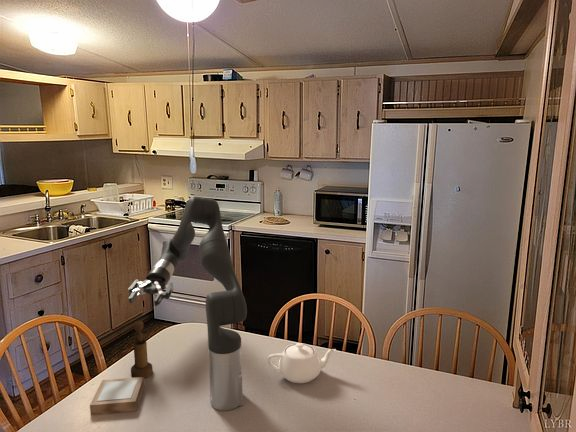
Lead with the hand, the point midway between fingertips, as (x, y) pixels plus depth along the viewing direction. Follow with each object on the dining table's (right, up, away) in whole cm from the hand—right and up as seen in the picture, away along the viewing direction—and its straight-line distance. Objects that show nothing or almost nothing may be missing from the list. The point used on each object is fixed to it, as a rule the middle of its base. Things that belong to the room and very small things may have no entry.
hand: (142, 302), depth 139 cm
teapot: (+53, -23, -5) cm, 58 cm away
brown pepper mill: (+1, -22, -4) cm, 23 cm away
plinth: (-1, -25, -18) cm, 30 cm away
